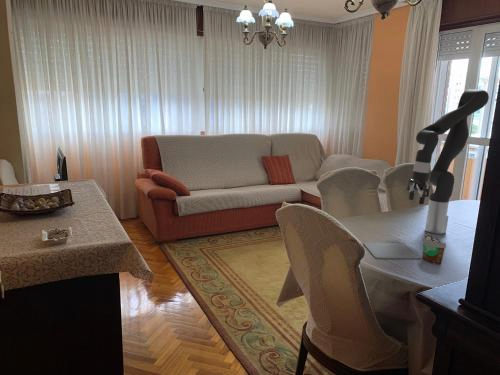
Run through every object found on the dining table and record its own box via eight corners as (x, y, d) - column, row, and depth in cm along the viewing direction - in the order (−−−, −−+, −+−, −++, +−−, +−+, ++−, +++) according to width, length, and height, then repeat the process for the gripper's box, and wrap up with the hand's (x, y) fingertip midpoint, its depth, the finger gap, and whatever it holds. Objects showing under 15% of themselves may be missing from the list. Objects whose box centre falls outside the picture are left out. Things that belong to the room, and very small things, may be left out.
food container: (414, 254, 167) (416, 233, 165) (427, 254, 168) (430, 233, 165) (429, 266, 155) (432, 243, 153) (443, 265, 156) (446, 243, 153)
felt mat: (404, 244, 178) (404, 243, 178) (420, 259, 162) (421, 257, 162) (363, 243, 178) (363, 242, 178) (375, 258, 161) (375, 257, 161)
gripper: (437, 173, 179) (431, 206, 182) (419, 168, 192) (414, 198, 196) (423, 173, 177) (417, 205, 181) (406, 167, 191) (401, 198, 195)
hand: (415, 201), depth 189 cm, fingers open, 8 cm apart
